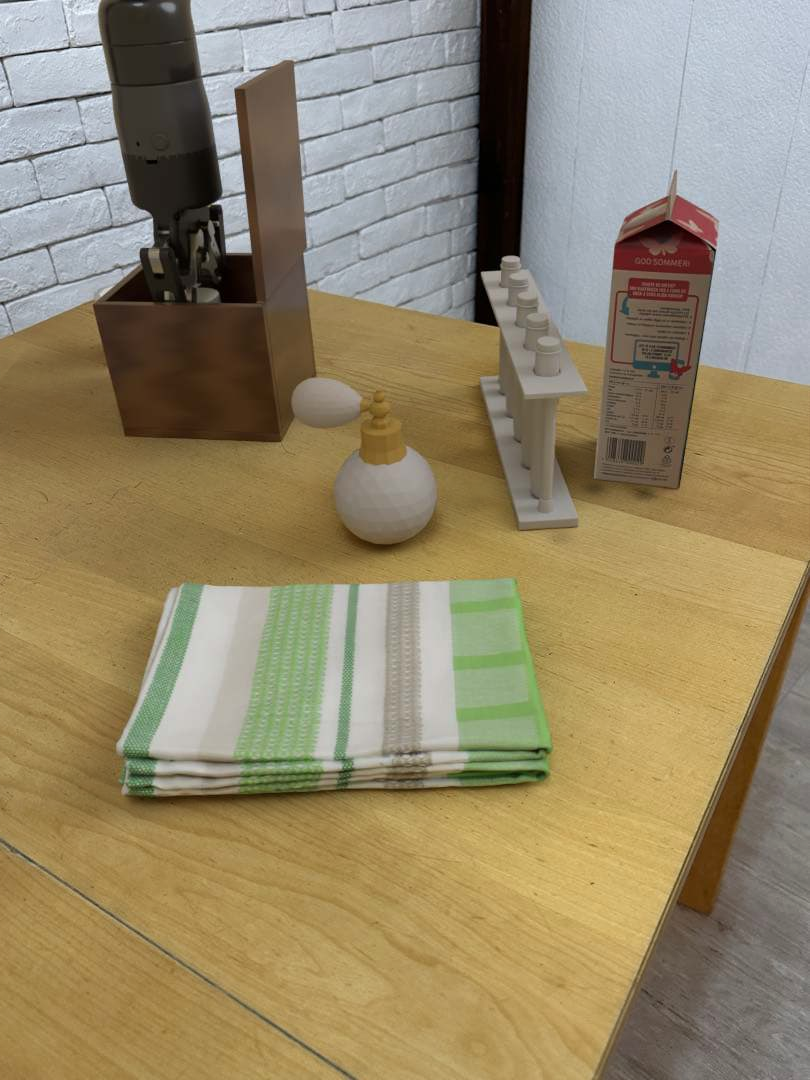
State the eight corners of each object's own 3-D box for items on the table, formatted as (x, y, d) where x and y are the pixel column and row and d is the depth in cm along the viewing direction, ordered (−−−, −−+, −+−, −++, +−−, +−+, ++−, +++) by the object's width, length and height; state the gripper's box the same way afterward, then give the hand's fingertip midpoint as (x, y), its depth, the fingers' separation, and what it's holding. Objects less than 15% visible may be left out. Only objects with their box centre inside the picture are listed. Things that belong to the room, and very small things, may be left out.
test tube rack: (479, 384, 87) (480, 246, 80) (524, 381, 87) (529, 243, 80) (518, 530, 67) (524, 364, 59) (578, 527, 67) (592, 360, 59)
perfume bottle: (446, 555, 65) (442, 404, 58) (310, 570, 64) (290, 419, 57) (430, 500, 71) (425, 356, 64) (306, 513, 70) (287, 369, 63)
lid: (233, 88, 63) (244, 88, 63) (284, 59, 74) (293, 60, 74) (256, 301, 72) (266, 301, 72) (298, 247, 83) (307, 248, 83)
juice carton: (593, 478, 72) (619, 193, 60) (604, 439, 77) (629, 168, 65) (679, 488, 70) (724, 196, 58) (684, 447, 76) (726, 171, 63)
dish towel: (176, 604, 61) (166, 563, 59) (515, 587, 61) (516, 545, 59) (116, 812, 47) (100, 767, 45) (556, 791, 47) (559, 744, 45)
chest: (124, 435, 82) (91, 304, 75) (178, 372, 93) (153, 252, 86) (280, 442, 80) (262, 307, 72) (316, 375, 90) (303, 252, 83)
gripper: (156, 123, 79) (191, 310, 89) (85, 162, 68) (133, 372, 77) (239, 122, 78) (264, 311, 88) (180, 162, 66) (217, 374, 76)
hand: (203, 339), depth 82 cm, fingers closed on supplement bottle, 5 cm apart
